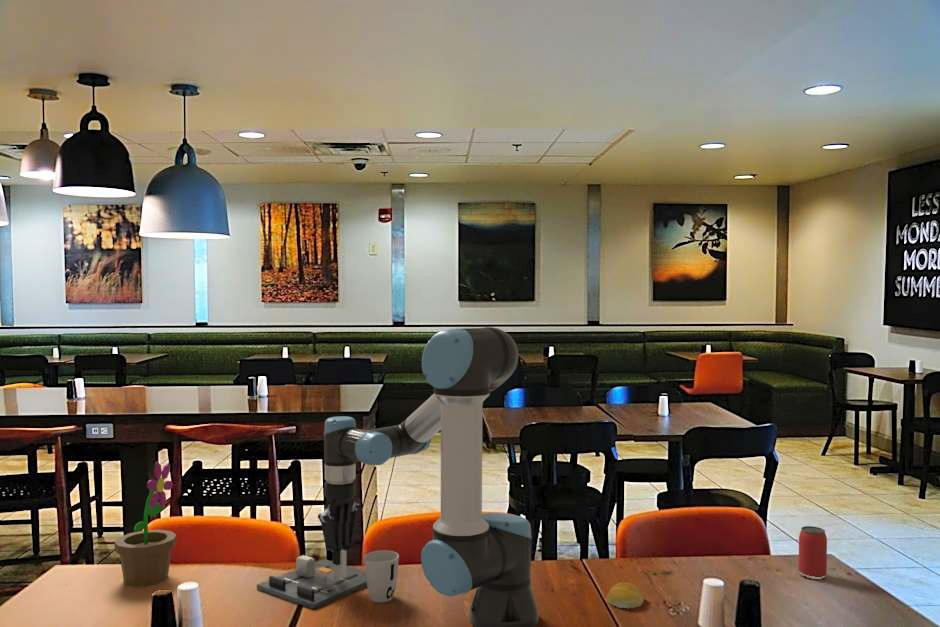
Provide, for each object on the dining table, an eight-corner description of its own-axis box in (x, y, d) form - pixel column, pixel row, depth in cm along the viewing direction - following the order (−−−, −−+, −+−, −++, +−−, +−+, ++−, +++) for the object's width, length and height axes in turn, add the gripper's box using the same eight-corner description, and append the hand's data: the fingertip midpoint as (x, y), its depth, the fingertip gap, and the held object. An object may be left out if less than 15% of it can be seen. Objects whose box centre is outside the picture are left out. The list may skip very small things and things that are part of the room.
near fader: (334, 587, 182) (334, 569, 182) (326, 590, 180) (326, 572, 180) (322, 583, 184) (322, 566, 184) (315, 587, 183) (315, 569, 182)
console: (379, 580, 191) (379, 567, 191) (313, 609, 173) (313, 595, 173) (324, 563, 202) (324, 551, 202) (256, 589, 185) (256, 576, 185)
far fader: (314, 575, 190) (314, 558, 190) (307, 577, 188) (307, 560, 188) (303, 571, 193) (303, 554, 193) (296, 574, 191) (296, 557, 191)
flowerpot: (158, 591, 183) (157, 467, 183) (102, 588, 185) (101, 465, 184) (187, 569, 198) (186, 454, 197) (135, 567, 199) (134, 453, 199)
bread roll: (603, 607, 175) (603, 590, 175) (612, 593, 184) (612, 576, 184) (640, 613, 172) (640, 595, 172) (646, 598, 180) (646, 581, 180)
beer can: (799, 579, 193) (800, 532, 192) (796, 569, 199) (797, 524, 199) (828, 581, 191) (829, 534, 190) (824, 572, 197) (825, 526, 197)
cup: (392, 606, 175) (392, 563, 174) (359, 603, 176) (359, 560, 176) (403, 593, 183) (403, 551, 182) (370, 590, 184) (370, 549, 184)
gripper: (347, 473, 193) (347, 565, 194) (309, 483, 183) (309, 581, 183) (369, 477, 189) (369, 571, 190) (331, 488, 178) (332, 588, 179)
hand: (340, 576), depth 186 cm, fingers closed
